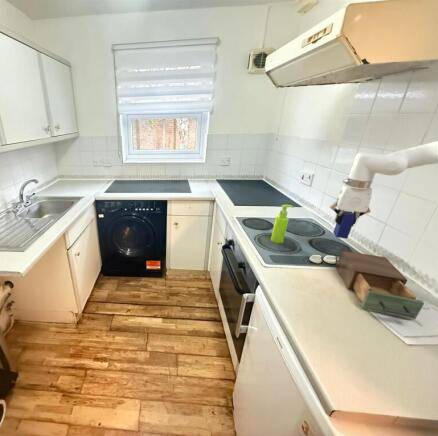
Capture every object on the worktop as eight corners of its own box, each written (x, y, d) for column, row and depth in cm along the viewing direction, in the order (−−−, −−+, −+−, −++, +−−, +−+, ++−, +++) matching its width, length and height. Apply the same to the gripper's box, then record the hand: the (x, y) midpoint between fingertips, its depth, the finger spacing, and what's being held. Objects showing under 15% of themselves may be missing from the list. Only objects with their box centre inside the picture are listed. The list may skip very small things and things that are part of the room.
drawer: (423, 330, 71) (433, 312, 69) (367, 317, 76) (375, 300, 73) (391, 291, 87) (399, 276, 85) (347, 282, 92) (353, 268, 89)
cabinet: (397, 299, 85) (407, 279, 81) (347, 289, 90) (355, 270, 86) (377, 275, 98) (385, 257, 95) (335, 267, 103) (341, 250, 100)
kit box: (343, 234, 107) (351, 211, 103) (347, 238, 103) (356, 215, 99) (333, 232, 109) (340, 210, 104) (336, 237, 104) (344, 214, 100)
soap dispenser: (287, 243, 123) (296, 207, 115) (274, 243, 123) (282, 207, 115) (281, 238, 128) (289, 203, 121) (268, 238, 128) (276, 203, 121)
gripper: (336, 183, 96) (323, 224, 103) (389, 188, 90) (371, 231, 98) (331, 179, 103) (319, 218, 110) (380, 183, 97) (364, 224, 104)
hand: (344, 224), depth 104 cm, fingers closed on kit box, 4 cm apart
